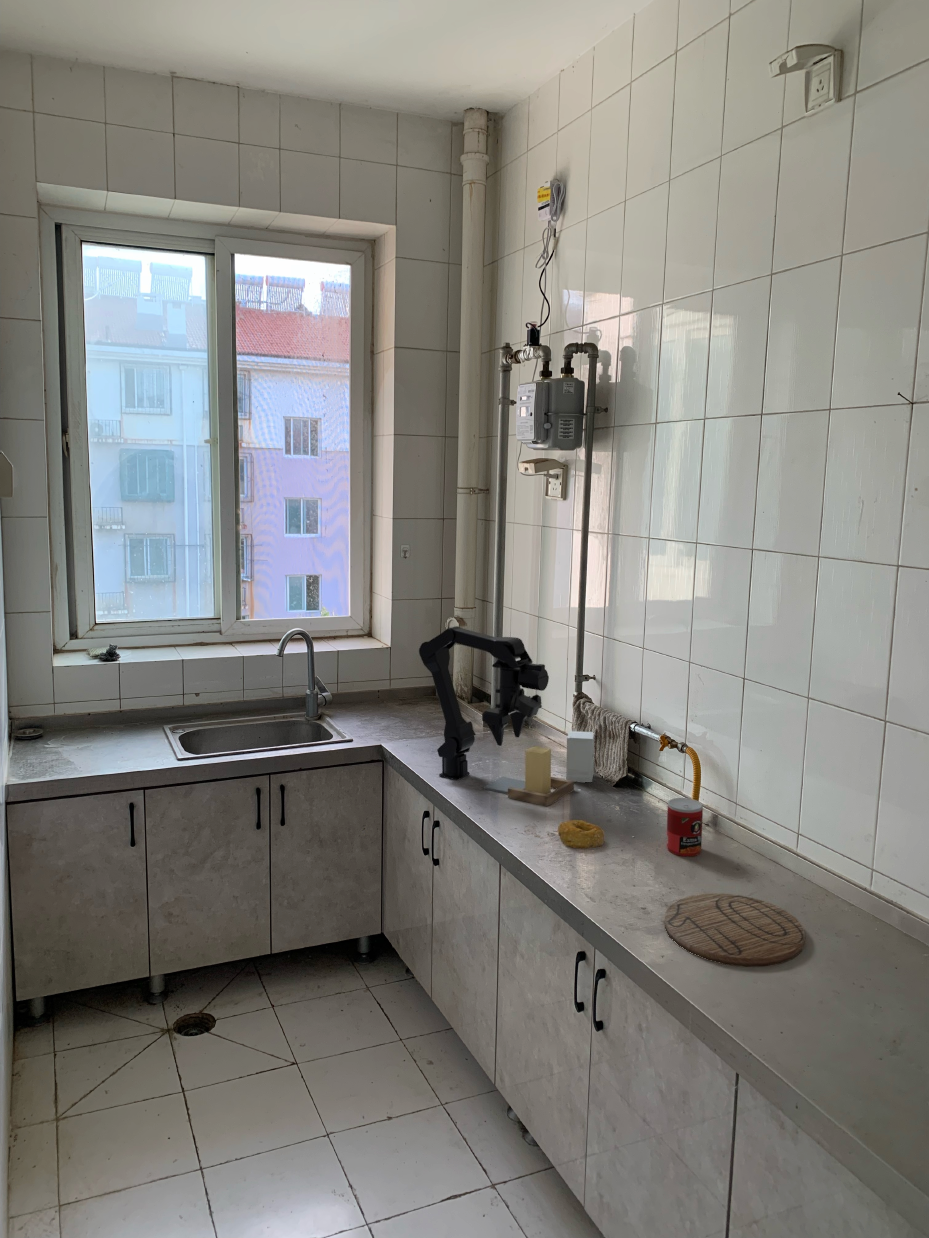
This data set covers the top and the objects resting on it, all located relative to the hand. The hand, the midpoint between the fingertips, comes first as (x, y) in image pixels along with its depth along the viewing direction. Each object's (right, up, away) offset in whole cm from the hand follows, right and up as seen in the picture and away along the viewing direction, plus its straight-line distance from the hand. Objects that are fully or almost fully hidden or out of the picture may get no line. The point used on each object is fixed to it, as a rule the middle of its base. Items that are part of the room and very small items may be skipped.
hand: (508, 741), depth 249 cm
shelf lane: (+8, -14, -3) cm, 16 cm away
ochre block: (+8, -14, -3) cm, 16 cm away
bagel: (+15, -19, -35) cm, 43 cm away
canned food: (+38, -19, -40) cm, 59 cm away
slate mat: (0, -13, +2) cm, 13 cm away
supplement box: (+20, -12, +9) cm, 25 cm away
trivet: (+38, -26, -77) cm, 90 cm away
